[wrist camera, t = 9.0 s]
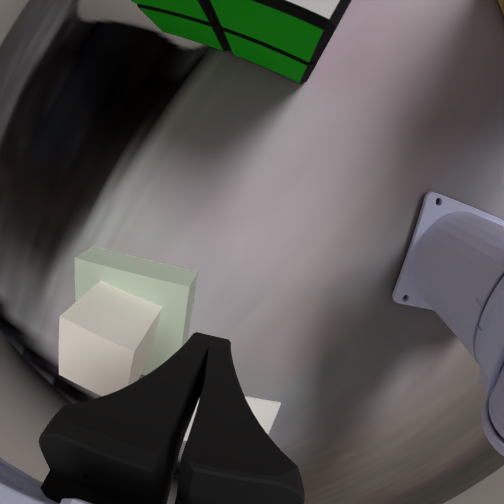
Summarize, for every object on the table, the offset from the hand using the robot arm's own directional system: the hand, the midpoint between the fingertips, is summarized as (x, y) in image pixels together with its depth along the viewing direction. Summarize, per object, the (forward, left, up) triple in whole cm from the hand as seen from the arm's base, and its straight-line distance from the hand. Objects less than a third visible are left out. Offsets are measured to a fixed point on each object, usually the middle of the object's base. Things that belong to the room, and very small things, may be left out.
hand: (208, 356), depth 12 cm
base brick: (+6, +5, -10) cm, 13 cm away
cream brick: (+6, +5, -7) cm, 11 cm away
